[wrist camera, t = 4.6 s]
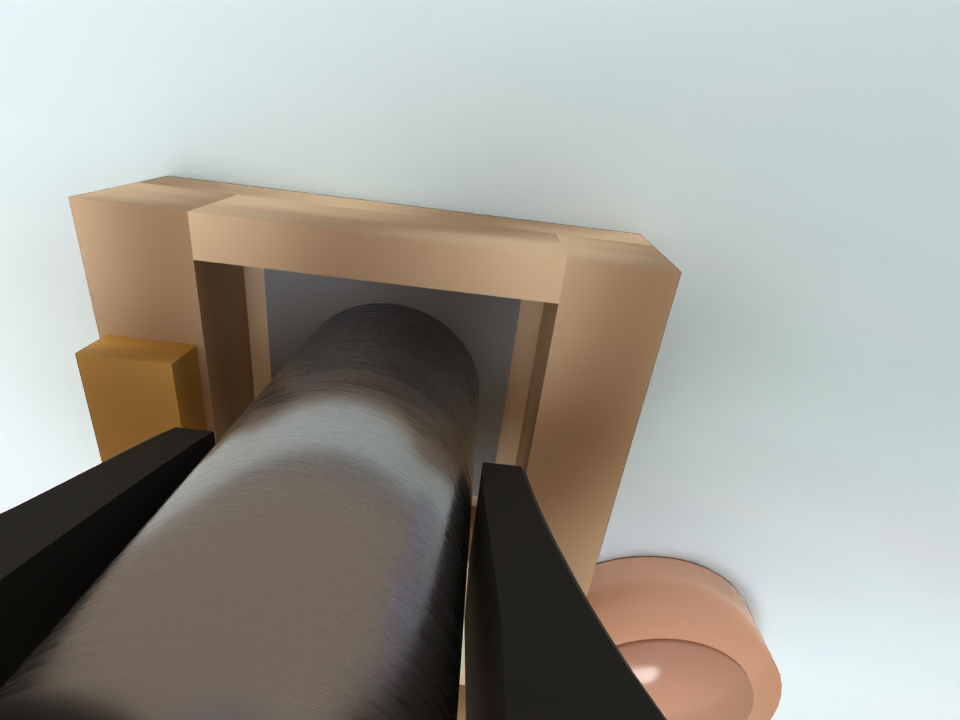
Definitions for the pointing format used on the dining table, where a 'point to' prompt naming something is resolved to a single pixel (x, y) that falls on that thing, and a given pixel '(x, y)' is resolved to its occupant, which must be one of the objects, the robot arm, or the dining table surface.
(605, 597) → the dish
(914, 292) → the dining table surface
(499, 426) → the board
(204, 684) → the cell
